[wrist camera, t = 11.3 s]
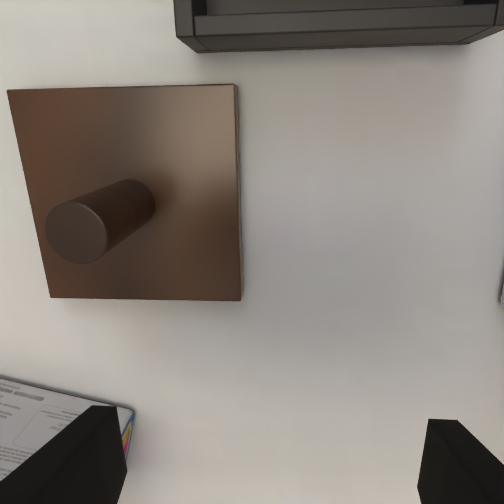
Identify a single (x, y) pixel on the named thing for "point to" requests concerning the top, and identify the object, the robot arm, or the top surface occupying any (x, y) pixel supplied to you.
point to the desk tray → (332, 23)
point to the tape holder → (134, 189)
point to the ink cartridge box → (40, 421)
